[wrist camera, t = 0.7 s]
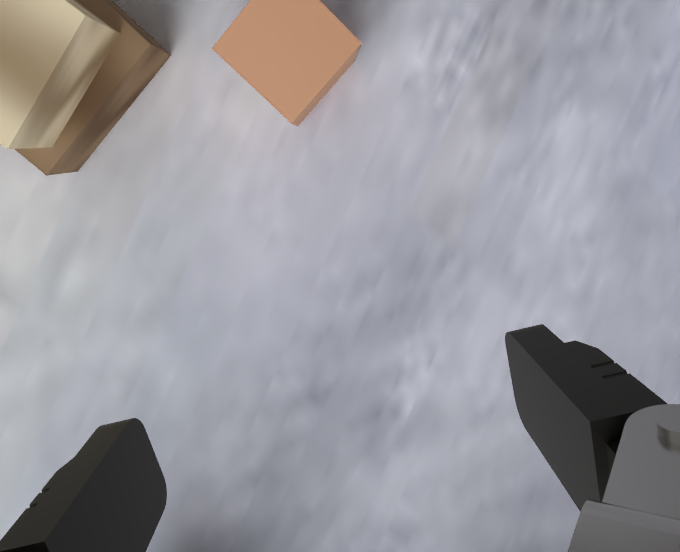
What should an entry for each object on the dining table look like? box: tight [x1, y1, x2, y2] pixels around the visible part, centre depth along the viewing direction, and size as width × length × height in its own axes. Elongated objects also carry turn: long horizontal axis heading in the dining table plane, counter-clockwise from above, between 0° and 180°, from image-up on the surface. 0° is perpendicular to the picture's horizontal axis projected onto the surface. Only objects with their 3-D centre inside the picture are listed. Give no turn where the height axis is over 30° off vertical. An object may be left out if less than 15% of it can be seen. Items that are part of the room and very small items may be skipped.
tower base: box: [15, 0, 171, 175], centre depth 28 cm, size 9×9×4 cm
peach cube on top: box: [212, 0, 361, 126], centre depth 27 cm, size 5×5×6 cm
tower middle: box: [0, 0, 120, 149], centre depth 24 cm, size 7×7×4 cm
